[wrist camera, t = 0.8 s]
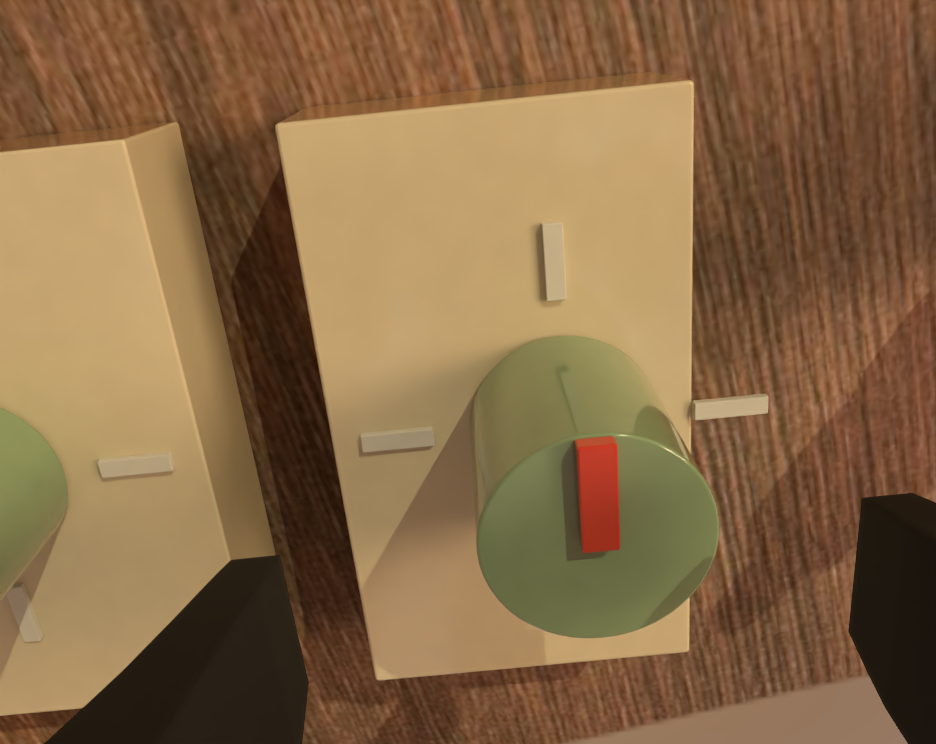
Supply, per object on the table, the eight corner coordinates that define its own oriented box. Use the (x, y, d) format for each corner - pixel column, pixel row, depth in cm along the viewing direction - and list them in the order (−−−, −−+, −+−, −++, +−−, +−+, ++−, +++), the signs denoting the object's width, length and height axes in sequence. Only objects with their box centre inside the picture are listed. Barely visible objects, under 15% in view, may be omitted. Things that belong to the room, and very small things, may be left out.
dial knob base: (713, 565, 21) (756, 652, 18) (385, 596, 21) (374, 687, 18) (724, 63, 16) (784, 70, 13) (302, 108, 16) (270, 124, 13)
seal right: (657, 493, 16) (724, 641, 12) (478, 511, 16) (488, 663, 13) (656, 325, 15) (730, 431, 11) (460, 344, 15) (465, 457, 11)
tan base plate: (288, 605, 21) (262, 698, 18) (-35, 635, 21) (-112, 732, 18) (178, 120, 16) (119, 140, 13) (-234, 163, 17) (-380, 192, 14)
